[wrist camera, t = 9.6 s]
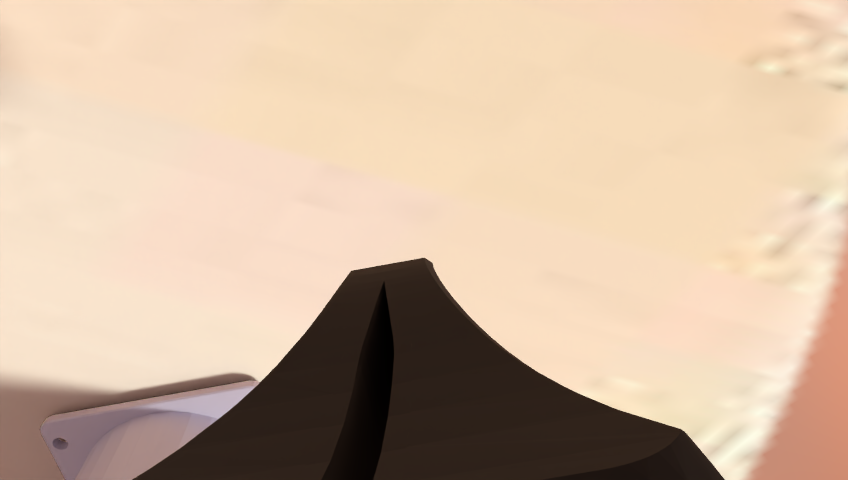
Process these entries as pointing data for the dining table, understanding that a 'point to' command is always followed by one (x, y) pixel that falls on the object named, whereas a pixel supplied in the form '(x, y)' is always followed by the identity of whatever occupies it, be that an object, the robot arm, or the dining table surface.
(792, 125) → the dining table surface
